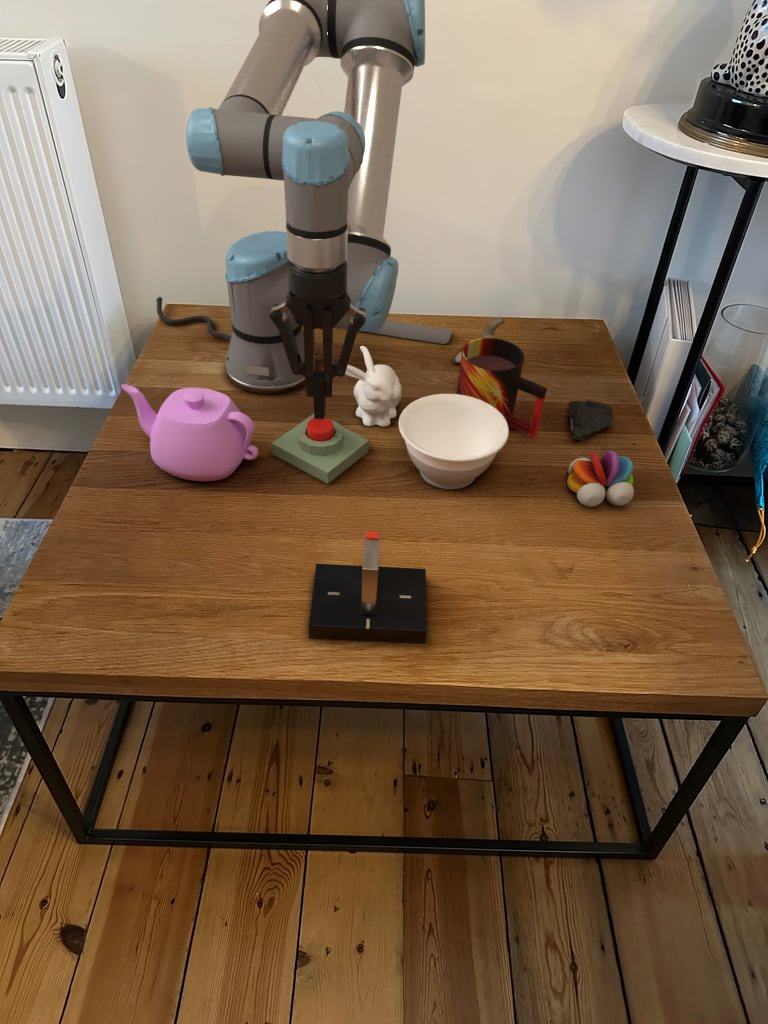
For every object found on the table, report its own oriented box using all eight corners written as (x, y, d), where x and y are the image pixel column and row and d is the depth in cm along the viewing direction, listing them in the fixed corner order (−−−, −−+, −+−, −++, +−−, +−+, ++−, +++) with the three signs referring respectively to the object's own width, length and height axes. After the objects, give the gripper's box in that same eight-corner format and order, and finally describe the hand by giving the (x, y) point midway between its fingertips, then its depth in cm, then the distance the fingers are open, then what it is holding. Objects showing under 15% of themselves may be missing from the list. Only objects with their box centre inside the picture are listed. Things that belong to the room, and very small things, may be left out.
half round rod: (449, 345, 142) (450, 337, 141) (347, 329, 145) (347, 321, 143) (452, 334, 145) (453, 326, 144) (353, 319, 148) (353, 310, 146)
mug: (535, 443, 121) (549, 379, 113) (449, 429, 123) (457, 365, 115) (539, 409, 128) (553, 346, 120) (458, 396, 130) (466, 334, 122)
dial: (375, 615, 91) (378, 568, 86) (360, 614, 91) (362, 567, 86) (377, 577, 96) (380, 530, 90) (363, 576, 96) (365, 530, 90)
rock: (615, 445, 122) (623, 420, 118) (571, 443, 122) (578, 417, 118) (604, 411, 129) (611, 386, 125) (563, 409, 128) (569, 384, 125)
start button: (301, 435, 114) (301, 425, 113) (318, 422, 117) (318, 413, 116) (322, 445, 113) (322, 436, 112) (339, 433, 115) (339, 423, 114)
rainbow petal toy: (558, 473, 116) (568, 435, 111) (619, 472, 117) (632, 434, 112) (572, 512, 110) (584, 473, 105) (637, 510, 111) (651, 471, 106)
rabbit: (392, 437, 121) (395, 372, 113) (334, 428, 122) (334, 363, 114) (405, 394, 130) (410, 332, 121) (351, 386, 131) (352, 324, 123)
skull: (448, 369, 138) (450, 343, 133) (476, 334, 144) (480, 308, 139) (498, 388, 134) (503, 362, 130) (525, 352, 141) (530, 326, 136)
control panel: (308, 639, 91) (308, 625, 90) (316, 575, 99) (316, 561, 97) (425, 644, 92) (427, 630, 90) (424, 580, 99) (425, 567, 97)
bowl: (396, 435, 121) (399, 390, 116) (496, 440, 121) (504, 395, 116) (394, 502, 110) (397, 456, 104) (504, 508, 110) (514, 462, 104)
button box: (272, 454, 117) (270, 433, 114) (314, 424, 123) (314, 403, 120) (327, 484, 112) (327, 463, 109) (368, 451, 118) (369, 430, 115)
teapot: (274, 443, 118) (269, 379, 110) (244, 499, 109) (237, 433, 101) (153, 422, 121) (140, 358, 113) (114, 475, 111) (96, 408, 103)
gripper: (370, 250, 99) (365, 401, 115) (269, 244, 99) (278, 396, 115) (367, 276, 93) (363, 431, 109) (261, 270, 93) (272, 426, 109)
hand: (320, 413), depth 112 cm, fingers closed
